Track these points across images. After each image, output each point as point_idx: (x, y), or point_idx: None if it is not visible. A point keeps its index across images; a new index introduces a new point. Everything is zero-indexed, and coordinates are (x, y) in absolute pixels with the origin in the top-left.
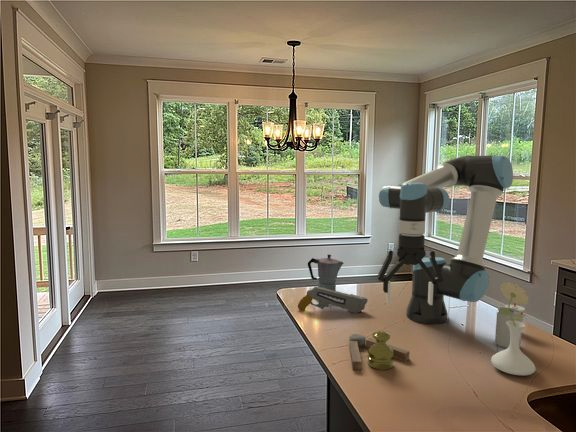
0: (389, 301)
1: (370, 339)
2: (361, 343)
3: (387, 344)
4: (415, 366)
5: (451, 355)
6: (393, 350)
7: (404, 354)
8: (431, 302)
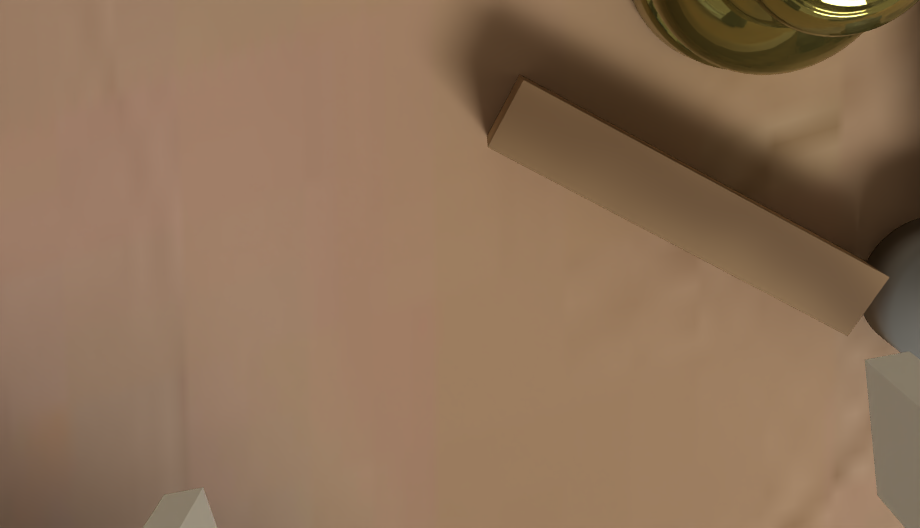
0: (899, 375)
1: (845, 296)
2: (918, 239)
3: (688, 232)
4: (434, 10)
5: (155, 309)
6: (632, 139)
7: (532, 84)
8: (165, 518)
